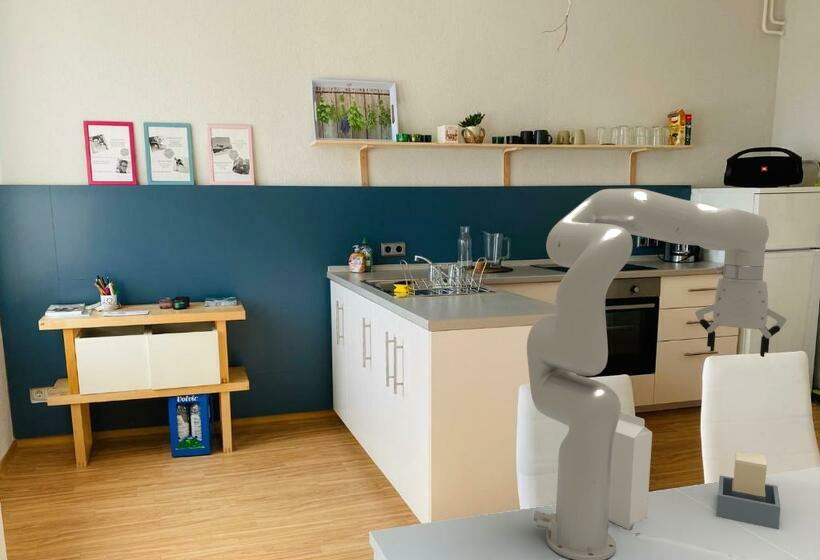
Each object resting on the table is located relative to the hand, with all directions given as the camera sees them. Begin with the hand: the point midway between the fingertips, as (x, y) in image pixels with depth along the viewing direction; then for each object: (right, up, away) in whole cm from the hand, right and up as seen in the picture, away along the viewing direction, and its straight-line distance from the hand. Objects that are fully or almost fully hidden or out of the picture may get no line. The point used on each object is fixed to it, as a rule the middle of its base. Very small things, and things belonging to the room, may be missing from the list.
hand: (736, 352), depth 140 cm
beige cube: (0, -27, -6) cm, 28 cm away
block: (0, -32, -5) cm, 33 cm away
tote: (-1, -33, -5) cm, 34 cm away
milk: (-26, -33, -8) cm, 43 cm away
